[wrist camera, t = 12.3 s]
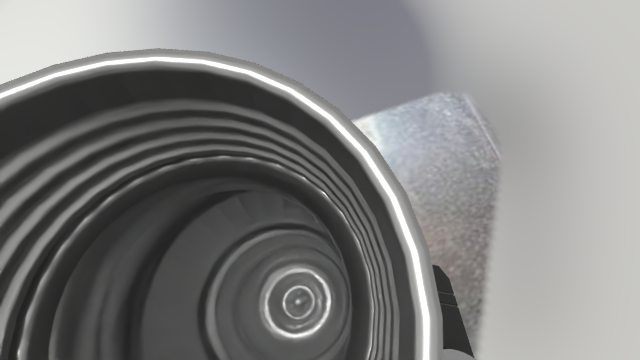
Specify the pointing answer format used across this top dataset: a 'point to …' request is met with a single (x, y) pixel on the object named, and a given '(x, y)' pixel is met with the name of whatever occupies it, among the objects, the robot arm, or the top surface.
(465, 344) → the robot arm
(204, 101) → the plastic bottle
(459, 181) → the top surface
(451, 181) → the top surface
